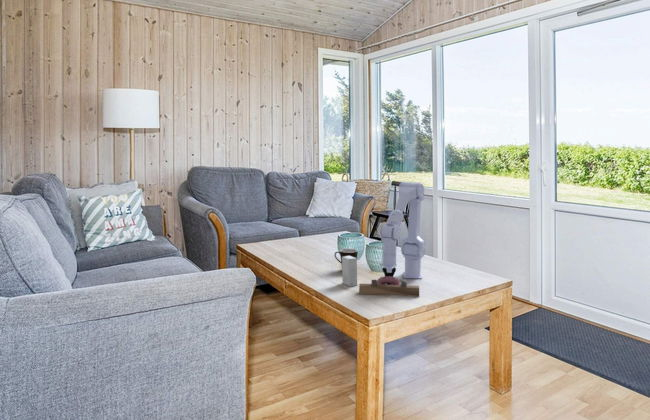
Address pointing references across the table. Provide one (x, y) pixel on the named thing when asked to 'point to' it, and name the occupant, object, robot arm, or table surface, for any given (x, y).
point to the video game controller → (388, 280)
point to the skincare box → (349, 270)
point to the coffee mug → (347, 253)
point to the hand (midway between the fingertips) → (388, 284)
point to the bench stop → (389, 289)
